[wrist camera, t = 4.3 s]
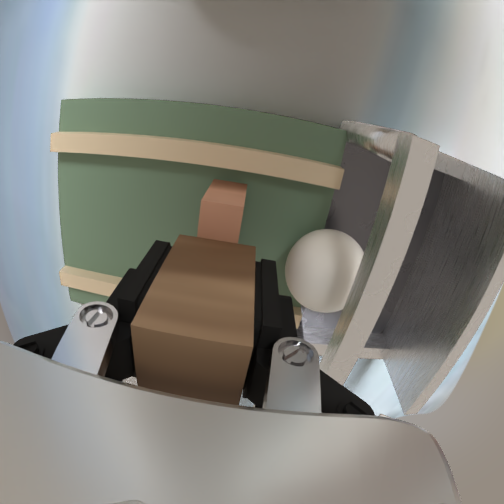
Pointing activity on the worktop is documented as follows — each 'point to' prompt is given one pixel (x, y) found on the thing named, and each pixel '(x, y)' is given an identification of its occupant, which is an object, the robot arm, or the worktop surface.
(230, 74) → the worktop surface
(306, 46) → the worktop surface
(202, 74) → the worktop surface
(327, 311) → the ball
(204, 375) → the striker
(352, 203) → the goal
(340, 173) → the field
